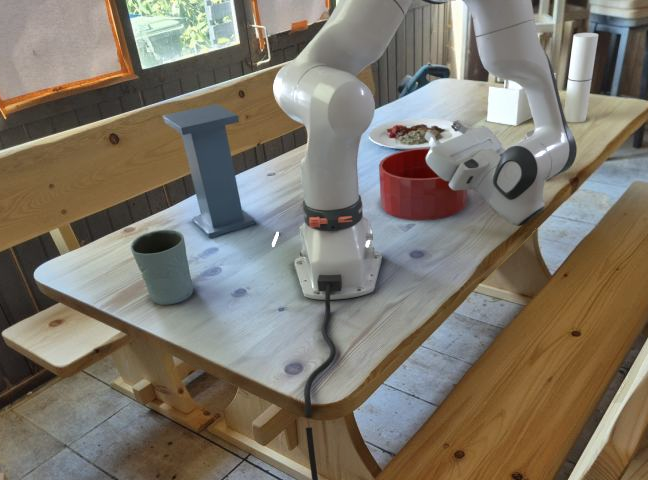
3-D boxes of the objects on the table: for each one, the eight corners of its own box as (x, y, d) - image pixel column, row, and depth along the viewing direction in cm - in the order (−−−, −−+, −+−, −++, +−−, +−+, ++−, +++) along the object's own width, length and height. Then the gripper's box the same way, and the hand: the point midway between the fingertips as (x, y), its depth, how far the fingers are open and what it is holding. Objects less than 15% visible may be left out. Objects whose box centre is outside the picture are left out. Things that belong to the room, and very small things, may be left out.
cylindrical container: (562, 122, 195) (573, 37, 180) (563, 115, 200) (573, 33, 185) (585, 122, 193) (598, 36, 178) (585, 116, 198) (598, 32, 184)
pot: (474, 216, 142) (476, 175, 136) (384, 223, 142) (382, 183, 136) (458, 182, 159) (460, 145, 154) (378, 189, 160) (376, 152, 154)
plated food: (462, 153, 178) (462, 141, 176) (362, 154, 183) (362, 143, 181) (464, 122, 201) (464, 112, 199) (376, 125, 206) (375, 114, 204)
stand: (237, 207, 156) (216, 103, 140) (258, 224, 147) (238, 115, 131) (189, 221, 151) (162, 115, 135) (208, 239, 142) (181, 128, 126)
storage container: (516, 125, 195) (519, 90, 189) (487, 121, 201) (488, 86, 195) (552, 106, 210) (556, 73, 203) (524, 102, 216) (526, 70, 209)
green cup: (178, 276, 128) (163, 225, 121) (208, 290, 122) (194, 237, 115) (137, 298, 122) (119, 245, 115) (167, 313, 116) (150, 258, 109)
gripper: (516, 145, 136) (475, 105, 139) (460, 171, 125) (416, 128, 128) (503, 165, 141) (463, 127, 144) (447, 192, 130) (406, 150, 133)
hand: (441, 128), depth 136 cm, fingers open, 8 cm apart
